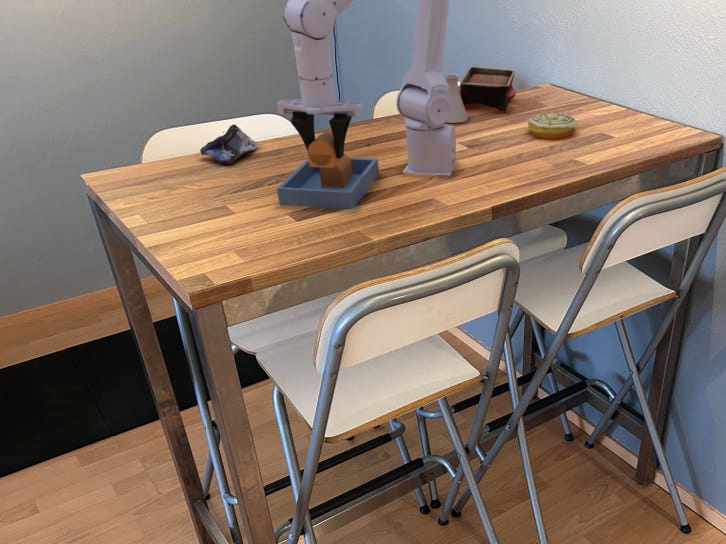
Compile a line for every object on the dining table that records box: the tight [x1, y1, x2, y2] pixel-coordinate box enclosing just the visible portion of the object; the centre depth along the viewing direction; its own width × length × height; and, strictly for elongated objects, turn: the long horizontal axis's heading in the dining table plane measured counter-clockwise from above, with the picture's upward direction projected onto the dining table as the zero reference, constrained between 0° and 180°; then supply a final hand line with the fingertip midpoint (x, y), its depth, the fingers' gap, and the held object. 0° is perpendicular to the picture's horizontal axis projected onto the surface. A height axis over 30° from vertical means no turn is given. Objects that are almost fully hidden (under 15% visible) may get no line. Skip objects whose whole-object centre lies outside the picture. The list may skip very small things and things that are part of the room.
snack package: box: [199, 124, 259, 165], centre depth 153 cm, size 12×6×12 cm
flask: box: [444, 73, 469, 124], centre depth 172 cm, size 7×7×10 cm
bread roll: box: [307, 130, 344, 168], centre depth 130 cm, size 4×6×5 cm
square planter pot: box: [458, 66, 517, 113], centre depth 182 cm, size 14×18×10 cm
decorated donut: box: [527, 112, 578, 140], centre depth 164 cm, size 10×11×4 cm
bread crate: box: [276, 157, 380, 210], centre depth 137 cm, size 14×17×4 cm
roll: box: [320, 153, 353, 188], centre depth 140 cm, size 4×6×5 cm
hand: (326, 155), depth 131 cm, fingers closed on bread roll, 4 cm apart
